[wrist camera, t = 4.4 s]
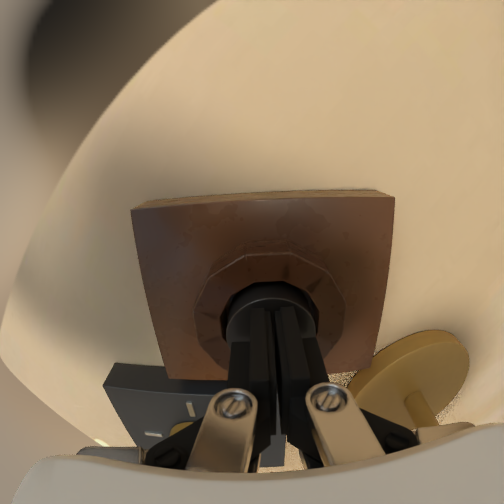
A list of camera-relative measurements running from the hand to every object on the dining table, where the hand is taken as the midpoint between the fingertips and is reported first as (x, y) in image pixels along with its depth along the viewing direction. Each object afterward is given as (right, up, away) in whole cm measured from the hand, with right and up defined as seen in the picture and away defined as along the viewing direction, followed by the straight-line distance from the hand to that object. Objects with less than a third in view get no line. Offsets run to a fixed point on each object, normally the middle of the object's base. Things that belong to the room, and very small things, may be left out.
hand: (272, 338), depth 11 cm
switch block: (0, +2, +5) cm, 5 cm away
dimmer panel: (-4, -9, +8) cm, 13 cm away
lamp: (+11, -7, +8) cm, 16 cm away
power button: (0, +1, +2) cm, 2 cm away
